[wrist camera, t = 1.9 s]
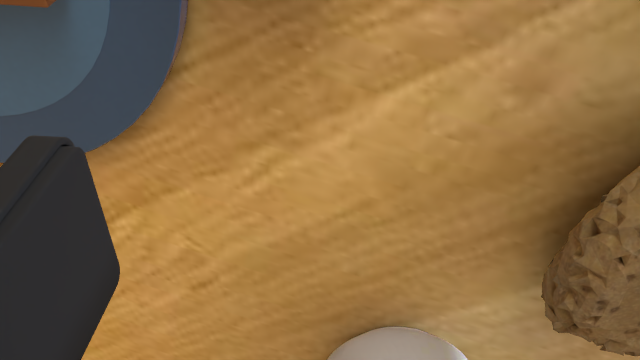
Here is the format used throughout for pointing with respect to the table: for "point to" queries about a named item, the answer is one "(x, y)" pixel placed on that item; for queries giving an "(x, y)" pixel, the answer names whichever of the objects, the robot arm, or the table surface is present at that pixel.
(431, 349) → the teacup
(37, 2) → the block
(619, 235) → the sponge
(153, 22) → the side plate
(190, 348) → the table surface
